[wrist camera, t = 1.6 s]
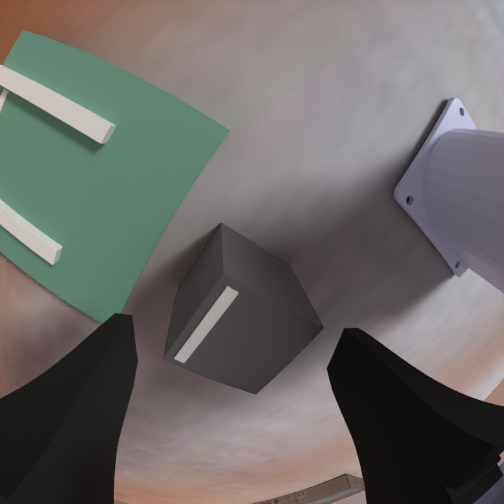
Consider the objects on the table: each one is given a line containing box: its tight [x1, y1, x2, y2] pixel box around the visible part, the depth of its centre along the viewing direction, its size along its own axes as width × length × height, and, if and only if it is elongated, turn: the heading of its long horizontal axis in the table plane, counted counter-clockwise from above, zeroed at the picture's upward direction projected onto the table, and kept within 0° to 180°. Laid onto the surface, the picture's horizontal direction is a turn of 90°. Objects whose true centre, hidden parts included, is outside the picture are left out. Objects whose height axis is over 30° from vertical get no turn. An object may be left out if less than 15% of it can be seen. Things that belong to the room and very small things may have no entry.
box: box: [255, 474, 365, 504], centre depth 30 cm, size 11×17×3 cm, turn 124°
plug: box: [163, 223, 324, 394], centre depth 11 cm, size 4×4×5 cm
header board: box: [0, 30, 230, 324], centre depth 8 cm, size 13×11×4 cm
